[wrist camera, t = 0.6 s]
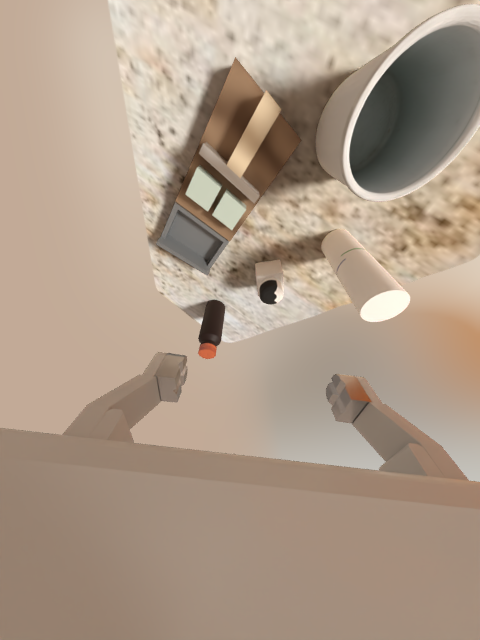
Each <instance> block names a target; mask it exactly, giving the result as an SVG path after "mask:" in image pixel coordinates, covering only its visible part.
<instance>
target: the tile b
mask: <svg viewBox="0 0 480 640" xmlns="http://www.w3.org/2000/svg"><path fill="white" fill-rule="evenodd" d="M245 211H246V205H245V204H244V203H243V202H242V201H241V200H240V199H238V198H237V197H236V196H235V195H234V194H233V193H232V192H230V191H229V190H228V189H226V191H225V192H224V194H223V196H222V198H221V199H220V201H219V203H218V205H217V206H216V208H215V210H214V212H213V214H212V215H213V216H214V217H215V218H217V219H218V220H219V221H220V222H222V223H223V224H224V225H226V226H227V227H228V228H230V229H231V230H233V228H234V227H235V225H236V224H237V222H238V221H239V219H240V218H241V217H242V215H243V214H244V212H245Z"/></svg>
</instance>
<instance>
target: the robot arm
mask: <svg viewBox="0 0 480 640" xmlns="http://www.w3.org/2000/svg"><path fill="white" fill-rule="evenodd" d="M186 362H187V356H184V355H177V354H171V353H162V352H158V353H157V354H155V356H154V357H153V359H152V360H151V362H150V364H149V365H148V367H147V368H146V370H145V371H144V373H143V374H142V375H138V376H136V377H134V378H133V379H131V380H129V381H128V382H126V383H124V384H122V385H121V386H119V387H117V388H115V389H114V390H112V391H110V392H109V393H107V394H105V395H103V396H101V397H100V398H98V399H96V400H95V401H93V402H91V403H89V404H88V405H87V406H86V407H85V408H84V409H83V411H82V412H81V413H80V414H79V416H78V417H77V418H76V419H75V420H74V421H73V423H72V424H71V425H70V426H69V427H68V429H67V430H66V431H65V432H64V433H63V435H58V434H49V433H40V432H32V431H23V430H14V429H5V428H0V640H480V482H476V481H469V480H468V479H467V477H466V476H465V475H464V474H463V472H462V471H461V470H460V469H459V467H458V466H457V465H456V464H455V462H454V461H453V460H452V459H451V457H450V456H449V455H448V454H447V452H446V451H445V450H444V449H443V447H442V446H441V445H439V444H438V443H437V442H435V441H434V440H433V439H431V438H430V437H429V436H427V435H426V434H425V433H423V432H422V431H421V430H419V429H418V428H417V427H415V426H414V425H413V424H411V423H410V422H408V421H407V420H406V419H405V418H403V417H402V416H401V415H399V414H398V413H397V412H395V411H394V410H392V409H391V408H390V407H389V406H387V405H386V404H382V402H381V400H380V399H379V398H378V396H377V395H376V393H375V392H374V390H373V389H372V387H371V386H370V384H369V383H368V381H367V380H366V379H365V378H364V377H358V376H349V375H340V374H335V375H333V377H332V381H333V382H331V383H329V384H328V386H327V388H326V396H327V399H328V402H329V403H331V404H332V405H333V406H332V412H333V414H334V417H335V419H336V421H339V422H346V423H353V424H352V425H353V426H354V427H355V428H356V429H357V430H358V431H359V432H360V434H361V435H362V436H363V437H364V438H365V439H366V440H367V441H368V442H369V443H370V445H371V446H372V447H373V448H374V449H375V450H376V451H377V453H379V455H380V456H381V457H382V458H383V459H384V460H385V461H386V462H385V464H383V465H382V466H381V467H380V469H379V471H378V470H369V469H360V468H351V467H342V466H334V465H325V464H315V463H307V462H299V461H290V460H281V459H271V458H263V457H254V456H245V455H236V454H227V453H219V452H209V451H200V450H192V449H182V448H174V447H165V446H156V445H147V444H138V443H134V441H133V438H132V435H131V432H130V429H131V428H132V427H133V426H134V425H135V424H136V423H138V422H139V421H140V420H141V419H142V418H143V417H144V416H145V415H147V414H148V413H149V412H150V411H151V410H152V409H153V408H154V407H155V406H157V405H158V404H159V403H160V402H161V401H167V402H178V399H179V397H180V394H181V386H182V385H184V383H185V381H186V376H187V366H186Z"/></svg>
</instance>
